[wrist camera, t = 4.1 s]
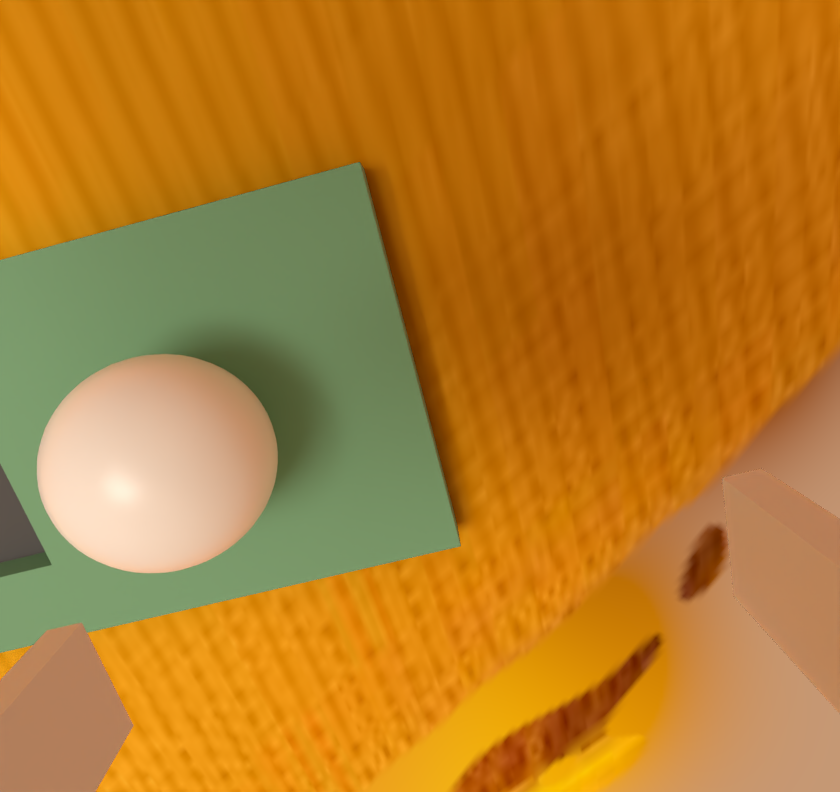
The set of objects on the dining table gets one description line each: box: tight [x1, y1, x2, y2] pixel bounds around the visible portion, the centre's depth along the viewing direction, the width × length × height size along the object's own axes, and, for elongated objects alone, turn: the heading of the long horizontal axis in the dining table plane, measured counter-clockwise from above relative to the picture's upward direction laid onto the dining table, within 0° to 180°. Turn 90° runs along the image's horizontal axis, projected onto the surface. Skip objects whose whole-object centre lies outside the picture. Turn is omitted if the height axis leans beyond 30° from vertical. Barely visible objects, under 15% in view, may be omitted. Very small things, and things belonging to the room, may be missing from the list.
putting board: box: [0, 162, 461, 653], centre depth 32 cm, size 38×22×2 cm, turn 104°
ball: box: [37, 354, 278, 573], centre depth 25 cm, size 10×10×10 cm
